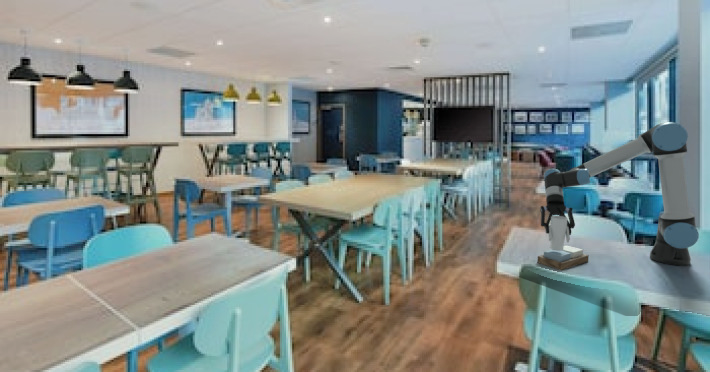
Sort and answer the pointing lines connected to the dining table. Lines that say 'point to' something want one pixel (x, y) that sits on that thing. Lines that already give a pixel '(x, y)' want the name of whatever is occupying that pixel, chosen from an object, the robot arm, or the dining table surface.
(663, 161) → the robot arm
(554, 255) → the slate key
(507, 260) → the dining table surface
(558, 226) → the drinking glass
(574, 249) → the cream key
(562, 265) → the keyguard frame
